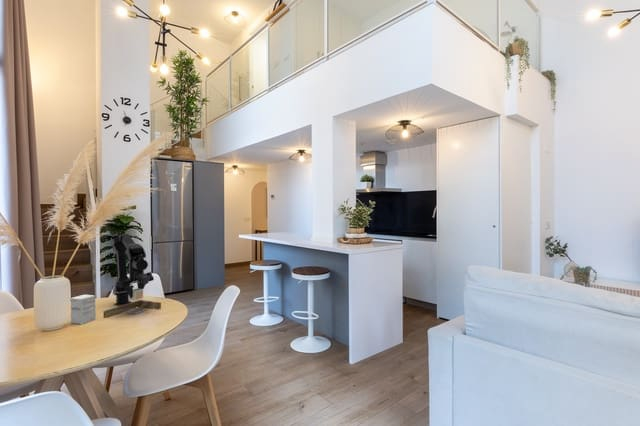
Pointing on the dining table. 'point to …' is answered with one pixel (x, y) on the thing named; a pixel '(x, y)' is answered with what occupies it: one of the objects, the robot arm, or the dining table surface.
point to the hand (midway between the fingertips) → (135, 296)
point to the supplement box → (82, 309)
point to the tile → (136, 311)
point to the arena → (132, 307)
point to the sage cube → (136, 294)
